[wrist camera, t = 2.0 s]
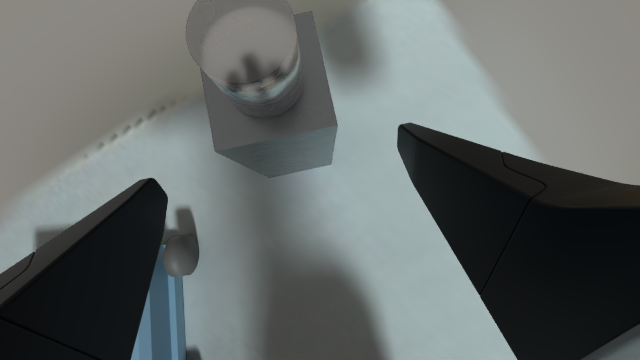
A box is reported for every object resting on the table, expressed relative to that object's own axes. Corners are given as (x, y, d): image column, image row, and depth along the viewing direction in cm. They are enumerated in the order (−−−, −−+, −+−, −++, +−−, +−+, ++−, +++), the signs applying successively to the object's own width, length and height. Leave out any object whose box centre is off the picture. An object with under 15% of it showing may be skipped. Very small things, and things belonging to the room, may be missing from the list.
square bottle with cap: (331, 164, 20) (343, 92, 7) (269, 177, 20) (169, 129, 7) (318, 104, 21) (307, -65, 8) (257, 117, 21) (144, -30, 8)
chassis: (208, 416, 18) (186, 457, 15) (39, 433, 19) (-16, 477, 16) (197, 232, 20) (175, 237, 17) (39, 249, 20) (-11, 257, 17)
